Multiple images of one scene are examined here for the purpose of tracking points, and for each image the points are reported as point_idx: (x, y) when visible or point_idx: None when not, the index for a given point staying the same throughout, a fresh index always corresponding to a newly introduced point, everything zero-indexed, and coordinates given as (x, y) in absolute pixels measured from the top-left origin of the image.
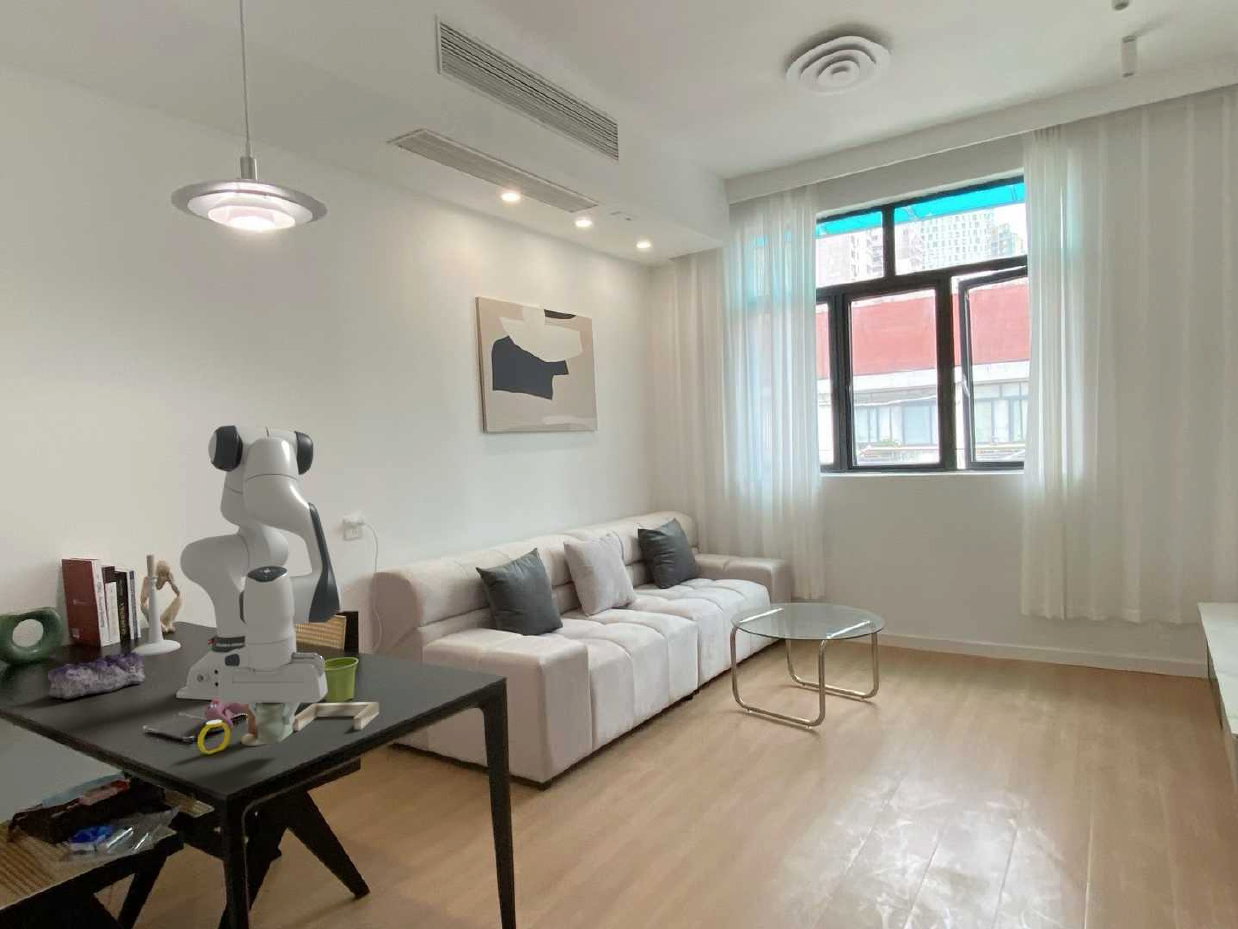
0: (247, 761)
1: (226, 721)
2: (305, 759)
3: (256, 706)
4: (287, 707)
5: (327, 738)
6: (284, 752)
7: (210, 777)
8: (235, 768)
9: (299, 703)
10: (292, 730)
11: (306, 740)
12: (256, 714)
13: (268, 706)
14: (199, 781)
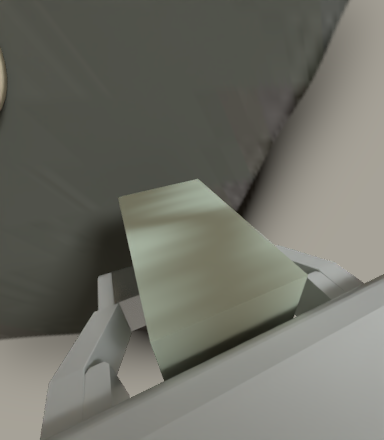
0: (87, 240)
1: None
2: (232, 196)
3: (125, 392)
4: (295, 313)
5: (229, 32)
6: (152, 170)
7: (77, 314)
8: (94, 273)
9: (338, 266)
10: (200, 181)
11: (160, 56)
12: (124, 346)
13: None
14: (70, 329)
